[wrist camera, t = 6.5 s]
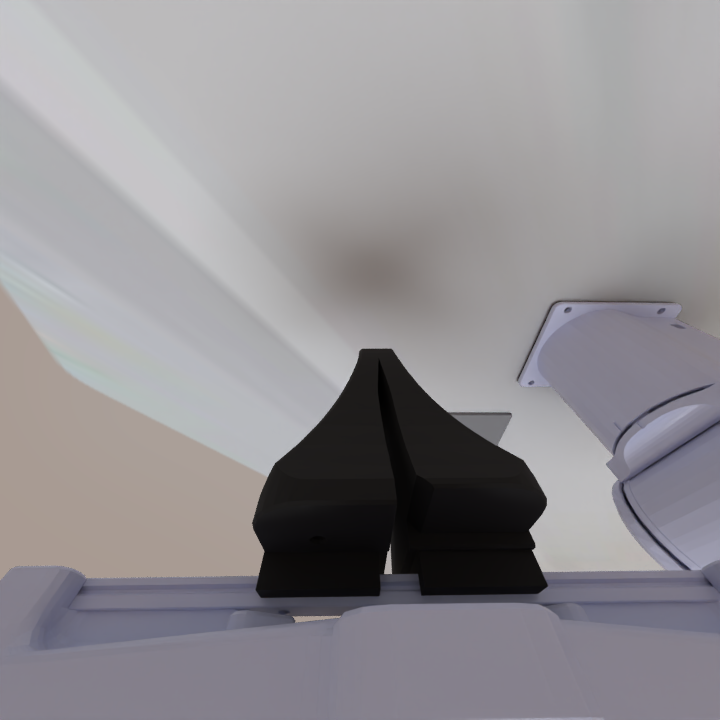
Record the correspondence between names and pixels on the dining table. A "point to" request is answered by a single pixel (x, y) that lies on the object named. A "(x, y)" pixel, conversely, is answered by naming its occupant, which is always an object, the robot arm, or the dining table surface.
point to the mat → (485, 424)
